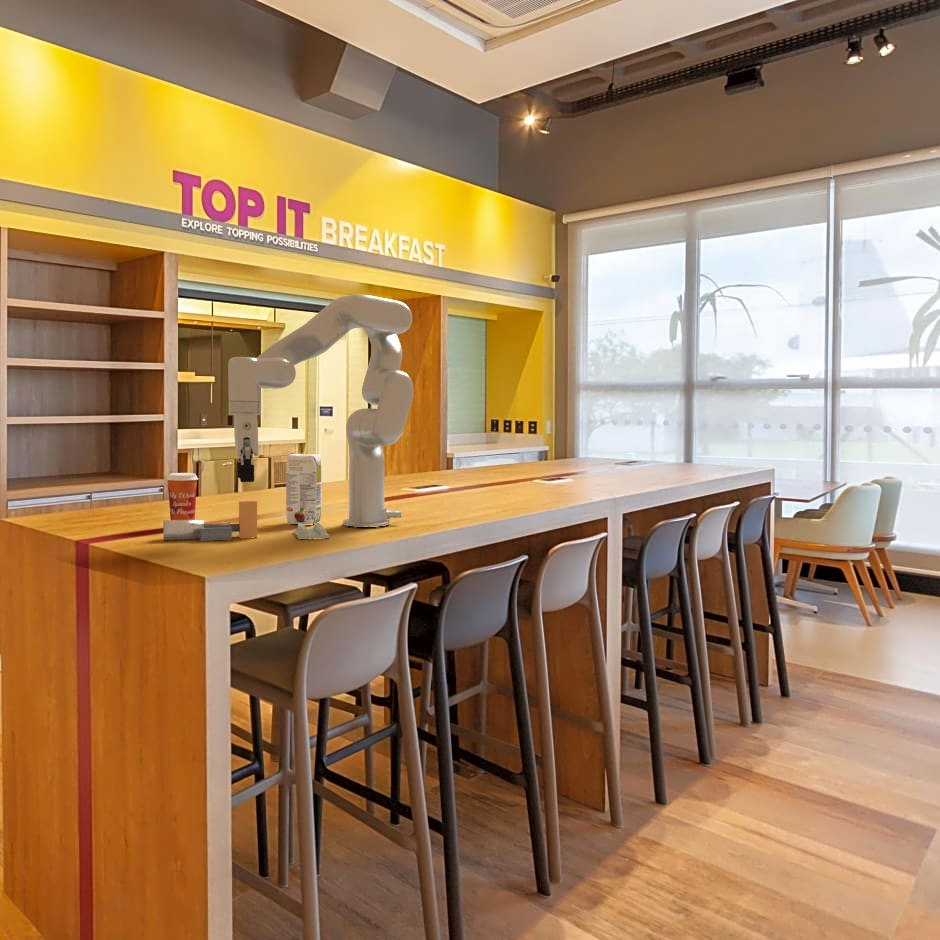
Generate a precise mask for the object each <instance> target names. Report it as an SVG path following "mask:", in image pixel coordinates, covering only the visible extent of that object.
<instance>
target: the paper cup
mask: <svg viewBox="0 0 940 940" xmlns="http://www.w3.org/2000/svg"><path fill="white" fill-rule="evenodd" d="M166 480H167V489H168V491H167V492H168V502H169V504H168V505H169V518H170V519H169V520H196V505H197V503H196V502H197V500H196V499H197V484H198V483H197V482H198V480H199V478H198V475H196V473H193V472H173V473H169V474H168V475H167V478H166Z"/></svg>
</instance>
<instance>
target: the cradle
mask: <svg viewBox="0 0 940 940" xmlns="http://www.w3.org/2000/svg"><path fill="white" fill-rule="evenodd" d="M306 526H307V525H304V524H303V523H298V525H297V528H294V529H293V534H294V535H295V534H296V535H297V536H296V535H295V536H296V537H297V539H298V540H299V539H309V538H329V539H330V534H329V533H327V531H326V529H325V528H324V526H323V525H321V524H320V522H319V523H314V525H313V528H312V527H311V528H308V527H306Z"/></svg>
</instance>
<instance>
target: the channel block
mask: <svg viewBox="0 0 940 940" xmlns="http://www.w3.org/2000/svg"><path fill="white" fill-rule="evenodd" d="M206 524H207V523H204V528H200V533H201V539H200V542H215V541H214V540H228V541H233V540H232V539H233V537H232V536H233V534H232V533H233V532H232V527H220V528H205V525H206ZM209 524H231V522H219V523H218V522H215V523H211V522H210V523H209Z"/></svg>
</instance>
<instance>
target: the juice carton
mask: <svg viewBox="0 0 940 940" xmlns="http://www.w3.org/2000/svg"><path fill="white" fill-rule="evenodd" d="M285 469H286V470H285V474H286V475H285V477H286V478H285V480H286V482H285V483H286V484H285V497H286V498H285V502H286V503H285V504H286V505H285V509H286V510H285V511H286V512H285V514H286V521H287V522H286V523H287V525H290V524H298V523H303V524H314V523H317V522H319V521H320V522H321V519H322V513H323V512H322V510H323V509H322V507H323V506H322V505H323V503H322V502H323V501H322V500H323V495H322V494H323V486H322V485H323V464H322V457H321V454H320V453H319V454H317V453H316V454H306V453H305V454H304V453H291V454H287V458H286V467H285ZM320 522H319V523H320Z"/></svg>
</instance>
